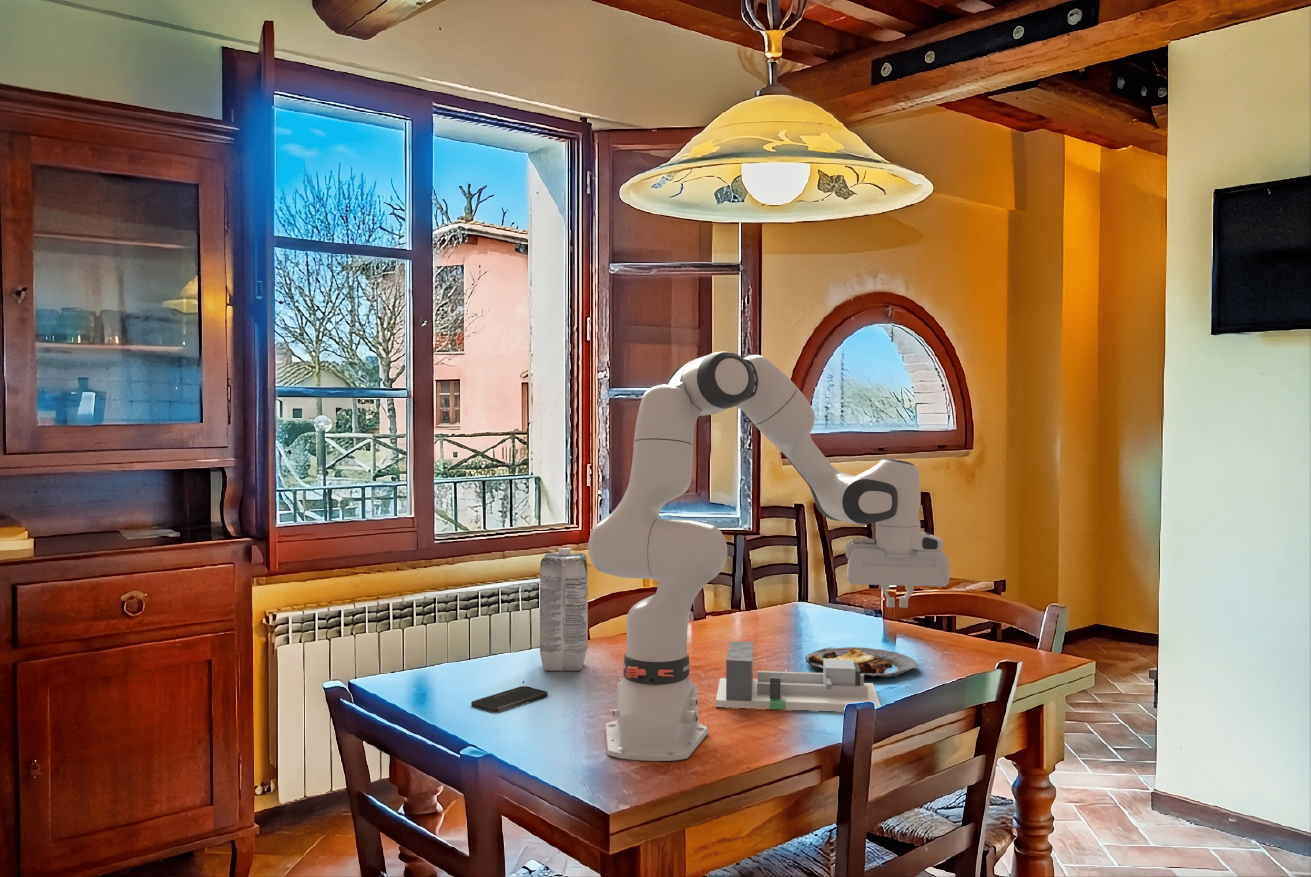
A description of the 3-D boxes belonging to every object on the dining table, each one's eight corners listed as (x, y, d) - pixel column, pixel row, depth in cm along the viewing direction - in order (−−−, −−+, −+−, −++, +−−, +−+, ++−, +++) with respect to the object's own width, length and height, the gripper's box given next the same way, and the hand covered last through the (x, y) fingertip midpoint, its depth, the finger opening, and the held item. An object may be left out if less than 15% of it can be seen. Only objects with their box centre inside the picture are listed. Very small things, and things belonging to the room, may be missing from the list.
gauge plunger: (862, 701, 195) (862, 676, 195) (826, 700, 196) (826, 675, 196) (857, 684, 208) (857, 660, 207) (823, 682, 208) (823, 659, 208)
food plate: (865, 688, 210) (866, 672, 210) (784, 667, 228) (784, 651, 228) (936, 672, 226) (936, 656, 226) (854, 653, 244) (855, 638, 244)
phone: (550, 692, 205) (495, 709, 193) (550, 697, 205) (495, 715, 193) (523, 685, 210) (468, 701, 198) (523, 690, 210) (468, 707, 198)
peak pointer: (780, 701, 195) (780, 681, 195) (770, 701, 195) (770, 680, 195) (780, 694, 200) (780, 674, 200) (770, 694, 200) (770, 674, 200)
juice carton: (585, 672, 223) (585, 552, 222) (538, 672, 222) (538, 552, 222) (588, 662, 231) (588, 546, 231) (542, 662, 231) (542, 546, 230)
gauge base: (881, 714, 193) (881, 696, 193) (715, 707, 197) (715, 690, 197) (872, 690, 209) (872, 673, 209) (720, 685, 213) (720, 668, 213)
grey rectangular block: (751, 701, 196) (751, 661, 196) (726, 700, 197) (726, 660, 196) (752, 679, 212) (753, 641, 212) (729, 678, 213) (729, 641, 212)
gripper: (846, 540, 200) (846, 608, 201) (951, 542, 198) (950, 611, 198) (844, 536, 206) (844, 602, 207) (946, 537, 204) (945, 605, 204)
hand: (897, 606), depth 202 cm, fingers closed
